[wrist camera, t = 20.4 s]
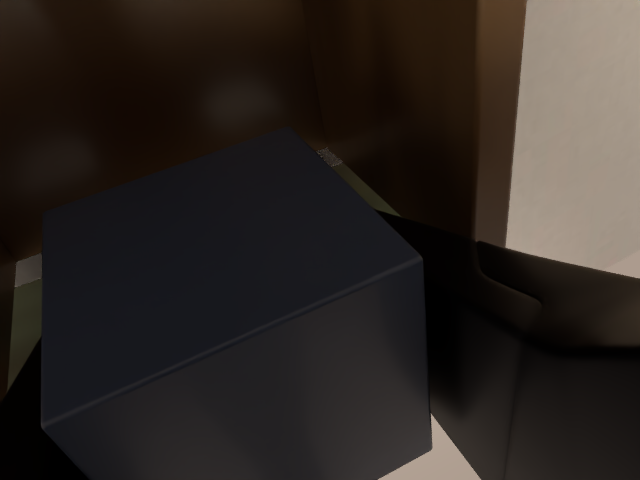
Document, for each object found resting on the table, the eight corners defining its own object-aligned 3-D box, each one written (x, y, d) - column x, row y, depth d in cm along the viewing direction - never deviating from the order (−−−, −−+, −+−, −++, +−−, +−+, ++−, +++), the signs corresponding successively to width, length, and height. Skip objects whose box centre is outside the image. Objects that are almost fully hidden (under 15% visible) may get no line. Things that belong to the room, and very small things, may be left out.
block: (327, 294, 11) (434, 450, 8) (142, 375, 10) (185, 586, 7) (289, 123, 8) (425, 256, 5) (40, 211, 8) (38, 428, 4)
